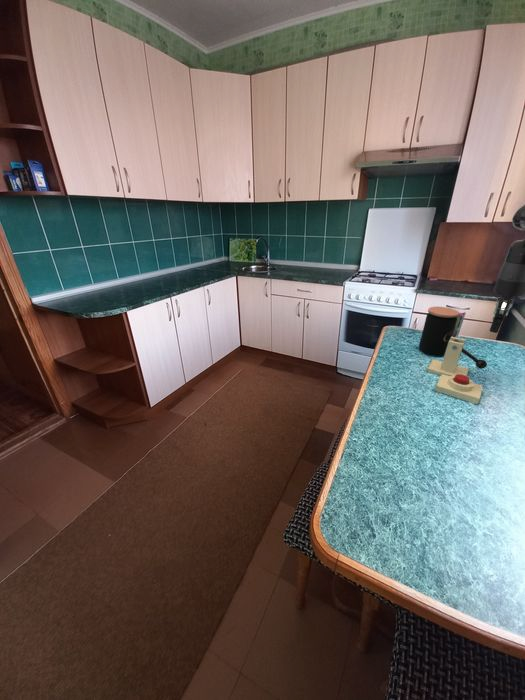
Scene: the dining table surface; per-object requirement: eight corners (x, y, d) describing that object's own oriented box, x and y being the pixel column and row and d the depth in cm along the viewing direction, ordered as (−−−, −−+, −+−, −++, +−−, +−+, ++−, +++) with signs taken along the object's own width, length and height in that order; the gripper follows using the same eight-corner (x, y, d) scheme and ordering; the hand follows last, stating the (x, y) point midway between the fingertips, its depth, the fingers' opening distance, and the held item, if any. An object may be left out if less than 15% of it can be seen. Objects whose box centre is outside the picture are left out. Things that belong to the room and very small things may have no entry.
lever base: (468, 371, 107) (479, 340, 102) (464, 382, 101) (476, 349, 95) (432, 362, 114) (440, 332, 108) (426, 371, 108) (435, 340, 102)
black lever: (482, 368, 102) (490, 362, 99) (481, 371, 99) (489, 366, 97) (449, 343, 105) (456, 337, 103) (447, 346, 103) (455, 340, 101)
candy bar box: (423, 343, 129) (432, 308, 122) (427, 340, 132) (436, 305, 125) (451, 351, 122) (463, 314, 114) (454, 347, 125) (466, 311, 118)
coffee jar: (443, 359, 116) (455, 317, 107) (414, 352, 122) (424, 311, 114) (449, 350, 123) (462, 310, 114) (422, 343, 129) (432, 304, 121)
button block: (480, 391, 96) (484, 381, 94) (477, 404, 90) (481, 393, 88) (440, 379, 103) (443, 369, 101) (434, 390, 97) (437, 380, 95)
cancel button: (468, 381, 95) (470, 376, 94) (467, 386, 92) (468, 382, 92) (454, 377, 97) (456, 372, 97) (452, 382, 95) (454, 378, 94)
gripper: (530, 284, 79) (506, 341, 87) (530, 275, 88) (509, 328, 96) (496, 280, 83) (477, 335, 91) (499, 272, 93) (481, 323, 100)
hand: (493, 331), depth 94 cm, fingers closed
